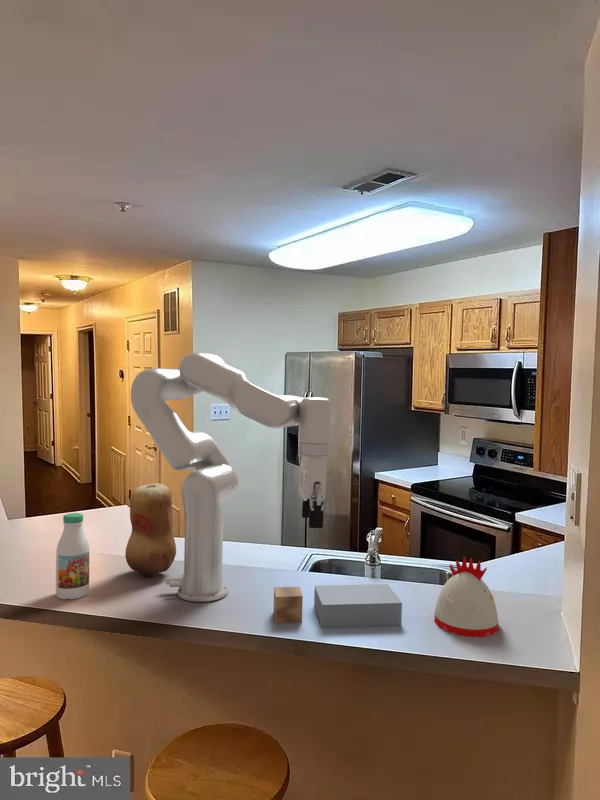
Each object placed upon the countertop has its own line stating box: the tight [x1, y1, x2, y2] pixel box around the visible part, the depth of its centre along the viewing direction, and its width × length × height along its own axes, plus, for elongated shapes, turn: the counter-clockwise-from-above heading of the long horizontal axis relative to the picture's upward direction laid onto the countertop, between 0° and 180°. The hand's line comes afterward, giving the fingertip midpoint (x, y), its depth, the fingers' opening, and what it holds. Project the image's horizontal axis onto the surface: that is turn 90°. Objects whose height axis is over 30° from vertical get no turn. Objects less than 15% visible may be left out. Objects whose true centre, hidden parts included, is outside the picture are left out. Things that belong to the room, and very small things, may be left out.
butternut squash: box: [124, 483, 177, 577], centre depth 156 cm, size 14×13×25 cm
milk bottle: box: [55, 512, 90, 600], centre depth 140 cm, size 8×8×20 cm
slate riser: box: [313, 583, 403, 628], centre depth 132 cm, size 18×12×5 cm, turn 96°
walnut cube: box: [273, 586, 304, 624], centre depth 130 cm, size 6×6×6 cm
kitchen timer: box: [433, 556, 499, 638], centre depth 128 cm, size 14×14×15 cm
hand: (312, 522), depth 134 cm, fingers open, 9 cm apart
